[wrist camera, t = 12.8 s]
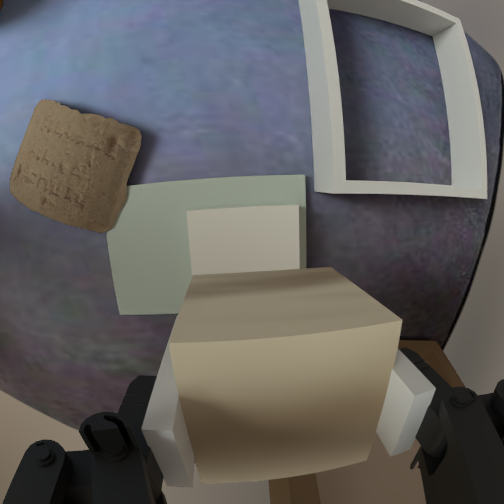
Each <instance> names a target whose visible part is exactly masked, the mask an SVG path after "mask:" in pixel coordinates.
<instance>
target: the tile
mask: <svg viewBox="0 0 504 504" xmlns="http://www.w3.org/2000/svg"><path fill="white" fill-rule="evenodd" d="M187 225H188V238H189V249H190V260H191V271H192V276H193V275H202V274H222V273H240V272H258V271H274V270H290V269H300V257H299V205H297V204H273V205H251V206H232V207H215V208H200V209H189V210H187Z"/></svg>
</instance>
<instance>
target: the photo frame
mask: <svg viewBox="0 0 504 504" xmlns="http://www.w3.org/2000/svg"><path fill="white" fill-rule="evenodd" d="M405 347H406V348H408V349H410V350H412V351H414V352H416V353H417V354H419V355H420V356H421V357H422V358H423V359H424V362H427V363H428V364H429V365H430V367H431V368H433V369H434V370H435V371H436V372H437V373H438V374H439V375H440V376H441V377H442V378H443V379H444V380H445V381H446V382H447V383H448V384H449V385H450V386H451V387H452V388H453V387H465V386H464V384H463V383H462V381H461V379H460V378H459V376H458V374H457V373H456V371H455V370H454V368H453V366H452V365H451V363H450V362H449V360H448V359H447V357H446V355H445V354H444V352H443V351H442V349H441V348H440V346H439V345H438V343H437V342H436V341H415V340H399V344H398V349H401V348H405ZM420 446H421V445H420V444H419V442H418V441H417V439H416V438H415V440H414V442H413V445H412V447H411V449H410V450H408V451H405V452H402V453H400V454H397V455H394V456H391V457H390V455H389V454H388V452H387V450H386V448H385V447H384V445H383V443H382V441H381V440H380V438H379V436H378V434H377V433H376V434H375V438H374V441H373V443H372V446H371V449H370V452H369V455H368V458H367V460H366V461H362V462H359V463H355V464H351V465H348V466H344V467H339V468H335V469H331V470H326V471H321V472H316V473H311V474H306V475H300V476H294V477H287V478H279V479H271V480H269V491H270V503H271V504H426V500H425V494H424V488H423V482H422V477H421V472H420V468H417V467H418V465H419V462H417V463H416V465H415V467H414V469H411V470H410V465H411V463H412V461H413V459H414V457H415V455H416V453H417V452H418V450H419V448H420Z"/></svg>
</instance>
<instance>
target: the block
mask: <svg viewBox="0 0 504 504" xmlns="http://www.w3.org/2000/svg"><path fill="white" fill-rule="evenodd" d="M401 327H402V319H401V318H399V317H398V316H397V315H395V314H394V313H393V312H391V311H390V310H389V309H387V308H386V307H385V306H383V305H382V304H381V303H379V302H378V301H377V300H375V299H374V298H373V297H371V296H370V295H369V294H367V293H366V292H364V291H363V290H362V289H360V288H359V287H358V286H356V285H355V284H354V283H352V282H351V281H349V280H348V279H347V278H345V277H344V276H343V275H341V274H340V273H338V272H337V271H336V270H334V269H333V268H331V267H320V268H306V269H290V270H274V271H258V272H240V273H222V274H202V275H193V276H192V279H191V282H190V284H189V287H188V290H187V292H186V295H185V298H184V301H183V303H182V306H181V309H180V312H179V314H178V317H177V320H176V323H175V325H174V328H173V331H172V334H171V337H170V340H169V349H170V355H171V360H172V366H173V371H174V376H175V381H176V386H177V390H178V395H179V399H180V404H181V408H182V412H183V416H184V420H185V424H186V428H187V432H188V435H189V439H190V443H191V446H192V450H193V453H194V457H195V458H194V459H195V463H196V466H197V470H198V473H199V476H200V479H201V482H202V483H233V482H250V481H262V480H271V479H279V478H287V477H294V476H300V475H306V474H311V473H316V472H321V471H326V470H331V469H335V468H339V467H344V466H348V465H351V464H355V463H359V462H362V461H366V460H367V458H368V455H369V452H370V449H371V446H372V443H373V441H374V438H375V434H376V429H377V426H378V423H379V419H380V416H381V412H382V408H383V405H384V401H385V397H386V393H387V389H388V385H389V380H390V376H391V371H392V369H393V368H394V364H395V359H396V354H397V349H398V344H399V338H400V333H401Z"/></svg>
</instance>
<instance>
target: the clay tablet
mask: <svg viewBox="0 0 504 504" xmlns="http://www.w3.org/2000/svg"><path fill="white" fill-rule="evenodd" d="M141 138H142V136H141V134H140V131H139V130H138V129H137V128H135V127H133V126H130V125H125V124H124V123H122V124H119V123H118V121H116V120H114V119H112V118H107V119H105V118H104V117H102V116H101V115H96V114H91V113H90V114H80V113H79V111H78V110H73V109H70V108H69V107H67V106H64V105H62V106H61V105H60V102H57V103H56V102H55V101H52V100H47V101H46V99H45V100H43V99H42V100H41V101H40V102H39V103H38V105H37V106H36V107H35V109H34V112H33V115H32V118H31V120H30V123H29V125H28V128H27V131H26V133H25V136H24V139H23V141H22V144H21V146H20V149H19V153H18V155H17V157H16V160H15V164H14V167H13V170H12V173H11V177H10V192H11V194H13V196H14V197H15V198H16V199H17V200H18V201H19V202H20V203H23V204H24V205H25V206H26V207H27V208H29V209H30V210H32V211H34V212H36V211H38V212H39V213H40V214H41V215H43V216H46V217H50V218H51V219H53V220H54V221H55V220H56V221H60V222H62V223H64V224H66V225H70V226H75V227H80V228H82V229H83V228H86V229H87V230H89V231H95V232H99V233H103V232H105V231H107V230H109V229H111V228H112V227H113V226H114V223H115V221H116V218H117V216H118V213H119V211H120V210H121V208H122V206H123V205H124V203H125V201H126V197H127V192H126V190H127V181H128V178H129V175H130V173H131V170H132V168H133V165H134V162H135V159H136V156H137V154H138V151H139V149H140V146H141Z"/></svg>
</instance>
